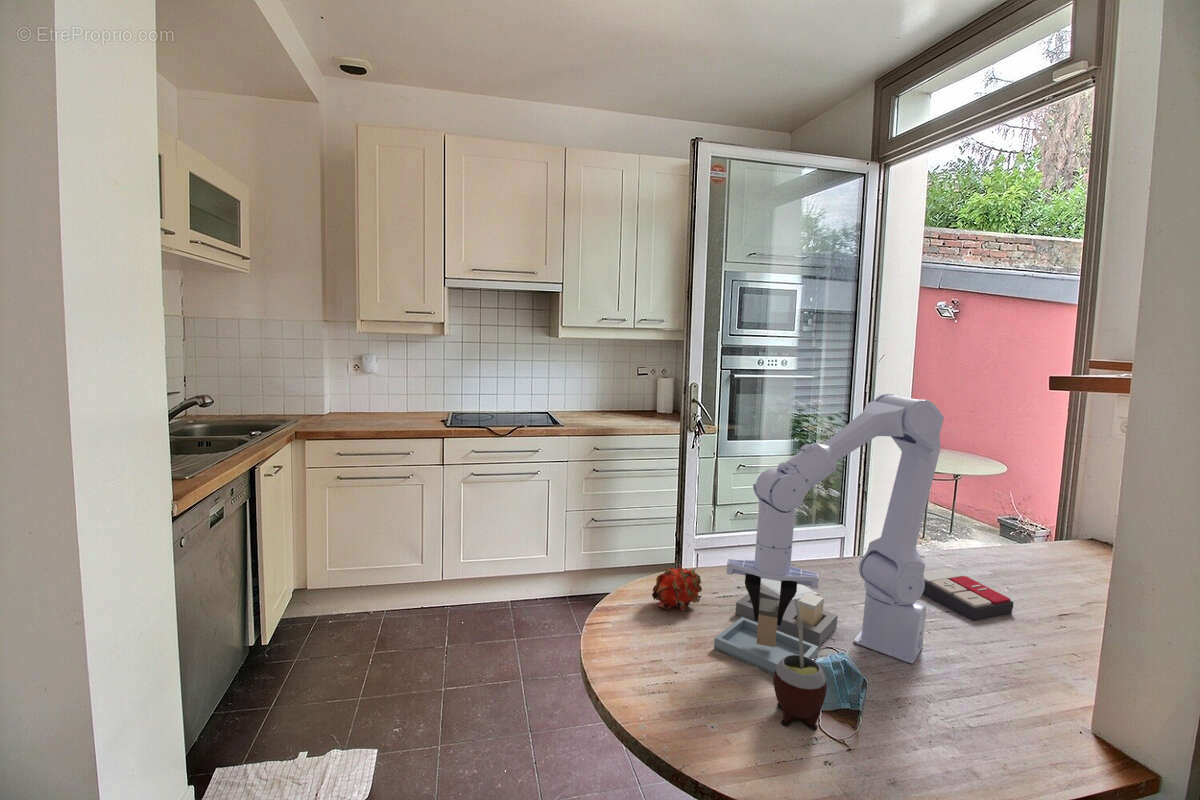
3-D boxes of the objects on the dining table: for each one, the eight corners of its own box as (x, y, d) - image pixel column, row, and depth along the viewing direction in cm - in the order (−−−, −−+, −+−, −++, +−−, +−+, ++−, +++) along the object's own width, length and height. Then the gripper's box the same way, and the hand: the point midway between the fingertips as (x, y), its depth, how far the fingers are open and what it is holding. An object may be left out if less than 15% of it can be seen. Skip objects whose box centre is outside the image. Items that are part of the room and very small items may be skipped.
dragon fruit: (703, 607, 116) (656, 630, 109) (679, 572, 120) (633, 592, 114) (719, 586, 110) (671, 609, 104) (694, 550, 115) (646, 570, 108)
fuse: (821, 628, 106) (824, 597, 105) (812, 637, 103) (815, 606, 102) (805, 622, 108) (807, 592, 107) (795, 631, 104) (798, 600, 104)
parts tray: (817, 657, 96) (818, 646, 96) (793, 683, 89) (794, 671, 88) (741, 627, 105) (741, 616, 105) (713, 648, 98) (714, 637, 97)
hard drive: (748, 575, 125) (790, 600, 114) (775, 569, 129) (819, 592, 118) (747, 582, 126) (790, 607, 115) (775, 576, 129) (819, 600, 118)
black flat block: (975, 605, 110) (910, 570, 124) (971, 626, 111) (907, 588, 125) (1015, 598, 114) (948, 565, 128) (1011, 618, 115) (945, 582, 129)
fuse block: (836, 627, 106) (837, 615, 106) (818, 646, 100) (820, 633, 99) (756, 598, 117) (757, 587, 116) (735, 614, 110) (736, 602, 110)
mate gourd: (803, 742, 76) (813, 636, 74) (755, 709, 82) (763, 610, 81) (835, 721, 81) (845, 620, 79) (787, 691, 87) (795, 597, 85)
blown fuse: (775, 633, 98) (778, 600, 98) (775, 647, 94) (777, 613, 93) (757, 630, 99) (760, 597, 99) (756, 643, 95) (758, 609, 94)
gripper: (819, 541, 96) (812, 617, 98) (731, 528, 101) (726, 601, 102) (821, 556, 89) (814, 638, 91) (727, 542, 94) (722, 620, 96)
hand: (767, 620), depth 96 cm, fingers closed on blown fuse, 3 cm apart
